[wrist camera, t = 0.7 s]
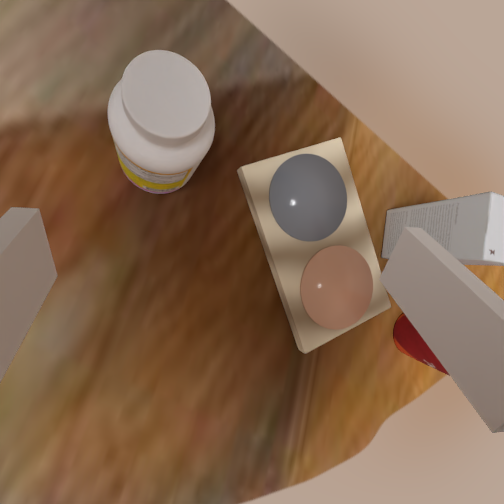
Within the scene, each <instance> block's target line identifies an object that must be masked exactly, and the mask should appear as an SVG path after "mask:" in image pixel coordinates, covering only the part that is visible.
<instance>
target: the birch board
mask: <svg viewBox="0 0 504 504" xmlns="http://www.w3.org/2000/svg"><path fill="white" fill-rule="evenodd" d="M299 154H314V155H318V156H320V157H322V158H324V159H326V160H327V161H329V162H330V163H331V164H332V165H333V166H334V167H335V168H336V169H337V170H338V172H339V173H340V175H341V177H342V179H343V181H344V184H345V187H346V192H347V208H346V213H345V216H344V218H343V220H342V222H341V224H340V226H339V227H338V228H337V230H336V231H335V232H334V233H332V234H331V235H330V236H328V237H326V238H324V239H322V240H319V241H309V242H307V241H301V240H297V239H295V238H293V237H291V236H290V235H288V234H287V233H286V232H284V231H283V230H282V229H281V228H280V226H279V225H278V224H277V222H276V220H275V219H274V217H273V214H272V212H271V208H270V203H269V188H270V184H271V180H272V178H273V175H274V174H275V172H276V170H277V169H278V167H279V166H280V165H281V164H282V163H283V162H285V161H286V160H288V159H289V158H291V157H293V156H296V155H299ZM237 173H238V176H239V179H240V181H241V184H242V187H243V190H244V193H245V196H246V199H247V202H248V205H249V208H250V210H251V213H252V216H253V219H254V222H255V225H256V228H257V231H258V234H259V237H260V240H261V242H262V245H263V248H264V251H265V254H266V257H267V260H268V263H269V266H270V269H271V271H272V274H273V277H274V280H275V283H276V286H277V289H278V292H279V295H280V298H281V300H282V303H283V306H284V309H285V312H286V315H287V318H288V321H289V324H290V327H291V330H292V332H293V335H294V338H295V341H296V344H297V347H298V350H300V351H301V352H303V353H305V354H306V353H308V352H310V351H312V350H314V349H315V348H317V347H319V346H321V345H323V344H324V343H326V342H328V341H330V340H332V339H334V338H335V337H337V336H339V335H341V334H343V333H345V332H346V331H348V330H350V329H352V328H354V327H356V326H357V325H359V324H361V323H363V322H365V321H367V320H368V319H370V318H372V317H374V316H376V315H378V314H379V313H381V312H383V311H385V310H387V309H389V308H390V307H391V304H390V301H389V298H388V294H387V291H386V288H385V287H384V285H383V284H382V283H381V281H380V280H379V278H380V276H381V271H380V267H379V264H378V261H377V257H376V254H375V250H374V247H373V244H372V240H371V237H370V234H369V230H368V227H367V224H366V220H365V217H364V214H363V210H362V207H361V203H360V200H359V197H358V193H357V190H356V187H355V183H354V180H353V177H352V173H351V170H350V166H349V163H348V160H347V156H346V153H345V150H344V146H343V143H342V140H341V137H340V138H337V139H333V140H330V141H326V142H323V143H320V144H316V145H313V146H309V147H306V148H303V149H299V150H296V151H293V152H289V153H286V154H282V155H279V156H276V157H272V158H269V159H266V160H262V161H259V162H255V163H252V164H249V165H245V166H242V167H240V168H239V169H238V170H237ZM335 245H342V246H347V247H350V248H352V249H354V250H356V251H357V252H358V253H360V254H361V255H362V256H363V258H364V259H365V260H366V262H367V263H368V265H369V267H370V270H371V273H372V278H373V293H372V298H371V302H370V304H369V307H368V309H367V310H366V312H365V313H364V315H363V316H362V317H361V318H360V319H359V320H358V321H357V322H356V323H355V324H353V325H351V326H349V327H347V328H344V329H339V330H333V329H328V328H325V327H322V326H320V325H318V324H317V323H316V322H314V321H313V320H312V319H311V318H310V317H309V315H308V314H307V312H306V311H305V309H304V306H303V304H302V300H301V295H300V283H301V278H302V274H303V271H304V269H305V267H306V265H307V263H308V262H309V260H310V259H311V258H312V257H313V256H314V255H315V254H316V253H317V252H319V251H320V250H322V249H324V248H326V247H329V246H335Z"/></svg>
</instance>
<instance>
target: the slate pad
mask: <svg viewBox="0 0 504 504" xmlns="http://www.w3.org/2000/svg"><path fill="white" fill-rule="evenodd" d="M269 203H270V208H271V212H272V214H273V217H274V219H275V220H276V222H277V224H278V225H279V226H280V228H281V229H282V230H283V231H284V232H286V233H287V234H288V235H290V236H291V237H293V238H295V239H297V240H301V241H307V242H309V241H319V240H322V239H324V238H326V237H328V236H330V235H331V234H332V233H334V232H335V231H336V230H337V228H338V227H339V226H340V224H341V222H342V220H343V218H344V216H345V213H346V208H347V192H346V187H345V184H344V181H343V179H342V177H341V175H340V173H339V172H338V170H337V169H336V168H335V167H334V166H333V165H332V164H331V163H330V162H329V161H327V160H326V159H324V158H322V157H320V156H318V155H314V154H299V155H296V156H293V157H291V158H289V159H288V160H286V161H285V162H283V163H282V164H281V165H280V166H279V167H278V169H277V170H276V172H275V174H274V175H273V178H272V180H271V184H270V188H269Z"/></svg>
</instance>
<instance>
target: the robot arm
mask: <svg viewBox="0 0 504 504" xmlns="http://www.w3.org/2000/svg"><path fill="white" fill-rule="evenodd" d="M56 278H57V272H56V269H55V265H54V261H53V258H52V254H51V250H50V247H49V243H48V239H47V236H46V232H45V228H44V225H43V221H42V217H41V214H40V210H39V209H36V208H16V207H11V208H10V209H9V210H8V211H7V212H6V213H5V214H4V215H3V216H2V217H1V218H0V382H1V380H2V378H3V377H4V375H5V373H6V371H7V369H8V367H9V365H10V364H11V362H12V360H13V358H14V356H15V354H16V352H17V351H18V349H19V347H20V345H21V343H22V341H23V339H24V338H25V336H26V334H27V332H28V330H29V328H30V326H31V325H32V323H33V321H34V319H35V317H36V315H37V313H38V312H39V310H40V308H41V306H42V304H43V302H44V300H45V299H46V297H47V295H48V293H49V291H50V289H51V287H52V286H53V284H54V282H55V280H56ZM379 280H380V281H381V283H382V284H383V285H384V287H385V288H386V289H387V291H388V292H389V293H390V295H391V296H392V297H393V299H394V300H395V302H396V303H397V304H398V306H399V307H400V308H401V310H402V311H403V312H404V314H405V315H406V316H407V318H408V319H409V321H410V322H411V323H412V325H413V326H414V327H415V329H416V330H417V331H418V333H419V334H420V335H421V337H422V338H423V339H424V341H425V342H426V344H427V345H428V346H429V348H430V349H431V350H432V352H433V353H434V354H435V356H436V357H437V358H438V360H439V361H440V362H441V364H442V365H443V367H444V368H445V369H446V371H447V372H448V373H449V375H450V376H451V377H452V379H453V380H454V381H455V383H456V384H457V385H458V387H459V388H460V390H461V391H462V392H463V393H464V395H465V396H466V398H467V399H468V400H469V402H470V403H471V404H472V406H473V407H474V409H475V410H476V411H477V412H478V414H479V415H480V417H481V418H482V419H483V421H484V422H485V423H486V425H487V426H488V428H489V429H490V430H491V432H492V433H495V432H504V300H503V299H501V298H500V297H499V296H498V295H497V294H496V293H495V292H493V291H492V290H491V289H490V288H489V287H488V286H487V285H486V284H484V283H483V282H482V281H481V280H480V279H479V278H478V277H476V276H475V275H474V274H473V273H472V272H471V271H470V270H469V269H467V268H466V267H465V266H464V265H463V264H462V263H461V262H459V261H458V260H457V259H456V258H455V257H454V256H453V255H451V254H450V253H449V252H448V251H447V250H446V249H445V248H444V247H442V246H441V245H440V244H439V243H438V242H437V241H436V240H434V239H433V238H432V237H431V236H430V235H429V234H428V233H426V232H425V231H424V230H423V229H422V228H416V227H404V229H403V231H402V233H401V235H400V237H399V240H398V242H397V244H396V246H395V248H394V250H393V252H392V254H391V256H390V258H389V260H388V262H387V264H386V266H385V268H384V270H383V272H382V274H381V276H380V278H379Z"/></svg>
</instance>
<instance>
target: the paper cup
mask: <svg viewBox="0 0 504 504" xmlns="http://www.w3.org/2000/svg"><path fill="white" fill-rule="evenodd" d="M393 338H394V342H395V345H396V347H397V348H398V349H399V350H400V351H401V352H403V353H404V354H406V355H408V356H410V357H412V358H414V359H416V360H418V361H420V362H422V363H424V364H426V365H428V366H430V367H433V368H435V369H437V370H439V371H441V372H443V373H445V374H447V375H449V373H448V372H447V371H446V369H445V368H444V367H443V365H442V364H441V362H440V361H439V360H438V358H437V357H436V356H435V354H434V353H433V352H432V350H431V349H430V348H429V346H428V345H427V344H426V342H425V341H424V339H423V338H422V337H421V335H420V334H419V333H418V331H417V330H416V329H415V327H414V326H413V325H412V323H411V322H410V321H409V319H408V318H407V316H406V315H405V314H404V313H402V314H401V315H400V316H399V318H398V319H397V321H396V323H395V326H394V330H393ZM449 376H450V375H449Z"/></svg>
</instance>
